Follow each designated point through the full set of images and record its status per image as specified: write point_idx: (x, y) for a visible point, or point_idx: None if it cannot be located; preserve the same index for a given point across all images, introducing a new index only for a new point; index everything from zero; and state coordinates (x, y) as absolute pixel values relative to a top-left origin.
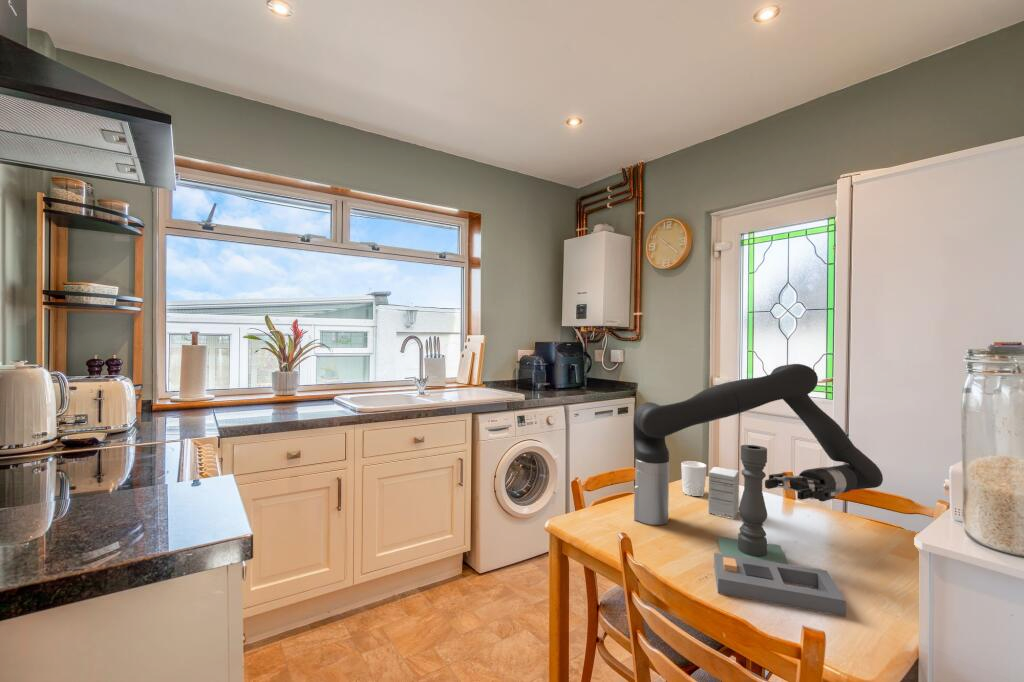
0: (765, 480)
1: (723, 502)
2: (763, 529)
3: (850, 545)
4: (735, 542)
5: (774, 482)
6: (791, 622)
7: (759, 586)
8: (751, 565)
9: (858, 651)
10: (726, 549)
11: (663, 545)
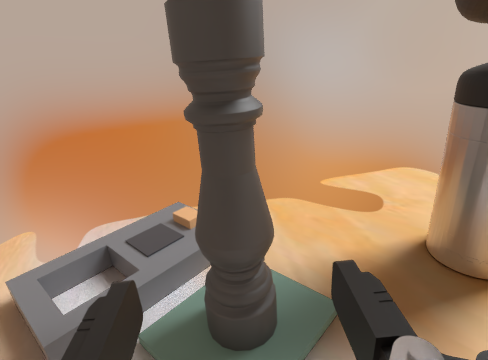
0: (370, 275)
1: None
2: (216, 283)
3: None
4: (296, 316)
5: (358, 327)
6: (88, 242)
7: (133, 223)
8: (170, 240)
9: (5, 260)
10: None
11: (326, 225)
